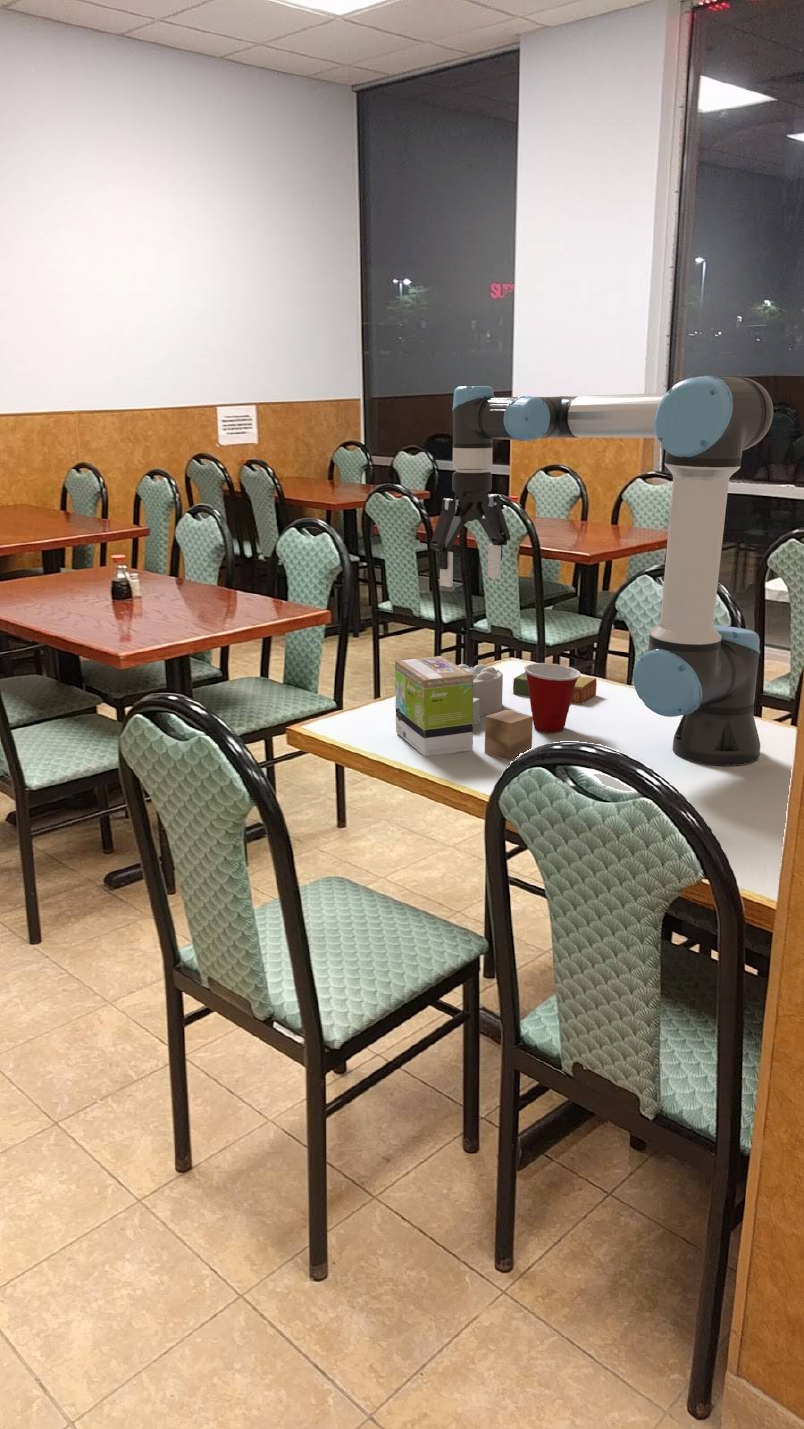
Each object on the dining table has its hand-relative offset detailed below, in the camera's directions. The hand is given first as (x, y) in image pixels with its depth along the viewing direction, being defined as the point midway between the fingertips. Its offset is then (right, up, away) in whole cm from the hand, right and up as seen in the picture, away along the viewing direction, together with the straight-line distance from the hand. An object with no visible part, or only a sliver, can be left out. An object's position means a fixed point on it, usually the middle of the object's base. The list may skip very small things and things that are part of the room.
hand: (470, 582), depth 211 cm
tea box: (-8, -31, -10) cm, 34 cm away
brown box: (+6, -33, -16) cm, 37 cm away
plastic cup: (+15, -29, -2) cm, 33 cm away
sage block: (-2, -28, +1) cm, 28 cm away
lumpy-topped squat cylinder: (+1, -25, +12) cm, 28 cm away
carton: (+19, -22, +22) cm, 37 cm away
